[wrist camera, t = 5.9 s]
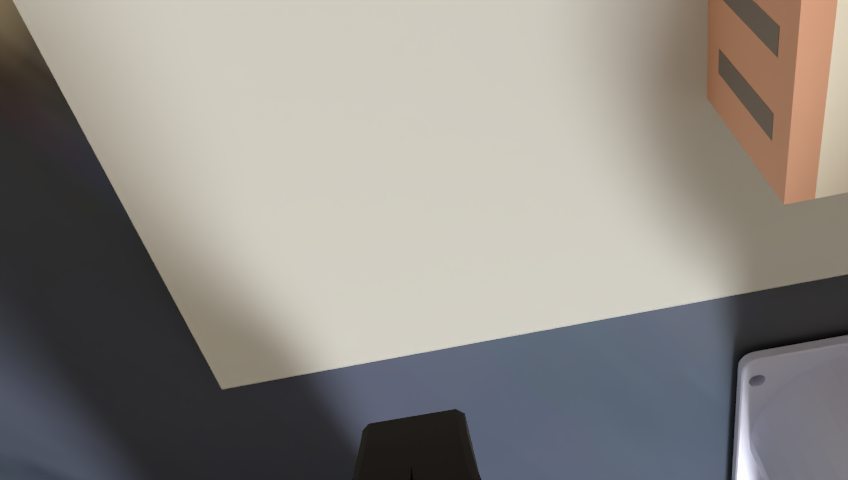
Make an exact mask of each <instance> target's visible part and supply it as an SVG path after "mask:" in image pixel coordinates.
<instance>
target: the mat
mask: <svg viewBox="0 0 848 480" xmlns="http://www.w3.org/2000/svg"><path fill="white" fill-rule="evenodd" d="M13 2H14V4H15V6H16V7H17V9H18V11H19V13H20V15H21V17H22V19H23V20H24V22H25V24H26V26H27V28H28V30H29V32H30V33H31V35H32V37H33V39H34V41H35V43H36V45H37V46H38V48H39V50H40V52H41V54H42V56H43V58H44V60H45V61H46V63H47V65H48V67H49V69H50V71H51V73H52V74H53V76H54V78H55V80H56V82H57V84H58V86H59V87H60V89H61V91H62V93H63V95H64V97H65V99H66V100H67V102H68V104H69V106H70V108H71V110H72V112H73V113H74V115H75V117H76V119H77V121H78V123H79V125H80V126H81V128H82V130H83V132H84V134H85V136H86V138H87V139H88V141H89V143H90V145H91V147H92V149H93V151H94V152H95V154H96V156H97V158H98V160H99V162H100V164H101V166H102V167H103V169H104V171H105V173H106V175H107V177H108V179H109V180H110V182H111V184H112V186H113V188H114V190H115V192H116V193H117V195H118V197H119V199H120V201H121V203H122V205H123V206H124V208H125V210H126V212H127V214H128V216H129V218H130V219H131V221H132V223H133V225H134V227H135V229H136V231H137V232H138V234H139V236H140V238H141V240H142V242H143V244H144V245H145V247H146V249H147V251H148V253H149V255H150V257H151V259H152V260H153V262H154V264H155V266H156V268H157V270H158V272H159V273H160V275H161V277H162V279H163V281H164V283H165V285H166V286H167V288H168V290H169V292H170V294H171V296H172V298H173V299H174V301H175V303H176V305H177V307H178V309H179V311H180V312H181V314H182V316H183V318H184V320H185V322H186V324H187V325H188V327H189V329H190V331H191V333H192V335H193V337H194V338H195V340H196V342H197V344H198V346H199V348H200V350H201V351H202V353H203V355H204V357H205V359H206V361H207V363H208V365H209V366H210V368H211V370H212V372H213V374H214V376H215V378H216V379H217V381H218V383H219V385H220V387H221V389H227V388H232V387H238V386H243V385H249V384H254V383H260V382H265V381H270V380H276V379H281V378H287V377H292V376H298V375H303V374H308V373H314V372H319V371H325V370H330V369H336V368H341V367H347V366H352V365H357V364H363V363H368V362H374V361H379V360H385V359H390V358H395V357H401V356H406V355H412V354H417V353H423V352H428V351H433V350H439V349H444V348H450V347H455V346H461V345H466V344H472V343H477V342H482V341H488V340H493V339H499V338H504V337H510V336H515V335H520V334H526V333H531V332H537V331H542V330H548V329H553V328H559V327H564V326H569V325H575V324H580V323H586V322H591V321H597V320H602V319H607V318H613V317H618V316H624V315H629V314H635V313H640V312H645V311H651V310H656V309H662V308H667V307H673V306H678V305H684V304H689V303H694V302H700V301H705V300H711V299H716V298H722V297H727V296H732V295H738V294H743V293H749V292H754V291H760V290H765V289H771V288H776V287H781V286H787V285H792V284H798V283H803V282H809V281H814V280H819V279H825V278H830V277H836V276H841V275H847V274H848V192H847V193H842V194H837V195H832V196H827V197H821V198H816V199H811V200H806V201H801V202H796V203H791V204H786V205H784V204H783V203H782V201H781V200H780V199H779V197H778V196H777V195H776V193H775V192H774V190H773V189H772V188H771V186H770V185H769V183H768V182H767V181H766V179H765V178H764V176H763V175H762V174H761V172H760V171H759V170H758V168H757V167H756V165H755V164H754V163H753V161H752V160H751V158H750V157H749V156H748V154H747V153H746V151H745V150H744V149H743V147H742V146H741V145H740V143H739V142H738V140H737V139H736V138H735V136H734V135H733V133H732V132H731V131H730V129H729V128H728V126H727V125H726V124H725V122H724V121H723V119H722V118H721V117H720V115H719V114H718V113H717V111H716V110H715V108H714V107H713V106H712V104H711V103H710V101H709V100H708V99H707V76H708V0H13Z"/></svg>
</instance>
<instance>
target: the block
mask: <svg viewBox="0 0 848 480" xmlns="http://www.w3.org/2000/svg"><path fill="white" fill-rule="evenodd" d="M707 99H708V100H709V101H710V103H711V104H712V106H713V107H714V108H715V110H716V111H717V113H718V114H719V115H720V117H721V118H722V119H723V121H724V122H725V124H726V125H727V126H728V128H729V129H730V131H731V132H732V133H733V135H734V136H735V138H736V139H737V140H738V142H739V143H740V145H741V146H742V147H743V149H744V150H745V151H746V153H747V154H748V156H749V157H750V158H751V160H752V161H753V163H754V164H755V165H756V167H757V168H758V170H759V171H760V172H761V174H762V175H763V176H764V178H765V179H766V181H767V182H768V183H769V185H770V186H771V188H772V189H773V190H774V192H775V193H776V195H777V196H778V197H779V199H780V200H781V201H782V203H783V204H784V205H786V204H791V203H796V202H801V201H806V200H811V199H816V198H821V197H827V196H832V195H837V194H842V193H847V192H848V0H708V76H707Z"/></svg>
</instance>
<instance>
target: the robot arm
mask: <svg viewBox="0 0 848 480" xmlns="http://www.w3.org/2000/svg"><path fill="white" fill-rule="evenodd" d="M352 480H481V478H480V475H479V472H478V468H477V463H476V459H475V455H474V451H473V447H472V442H471V438H470V434H469V430H468V426H467V421H466V417H465V413H462V412H460V411H458V410H456V409H454V410H448V411H442V412H436V413H430V414H424V415H418V416H412V417H406V418H400V419H394V420H388V421H383V422H377V423H371V424H368V425H367V427H366V428H365V429H364V430H363V433H362V438H361V444H360V449H359V453H358V458H357V462H356V467H355V471H354V475H353V479H352ZM732 480H848V335H844V336H839V337H833V338H828V339H822V340H816V341H811V342H805V343H800V344H794V345H788V346H783V347H777V348H771V349H766V350H760V351H755V352H751V353H748V354H747V355H745V356H743V358H742V359H741V360H740V361H739V364H738V377H737V395H736V413H735V431H734V448H733V466H732Z"/></svg>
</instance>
